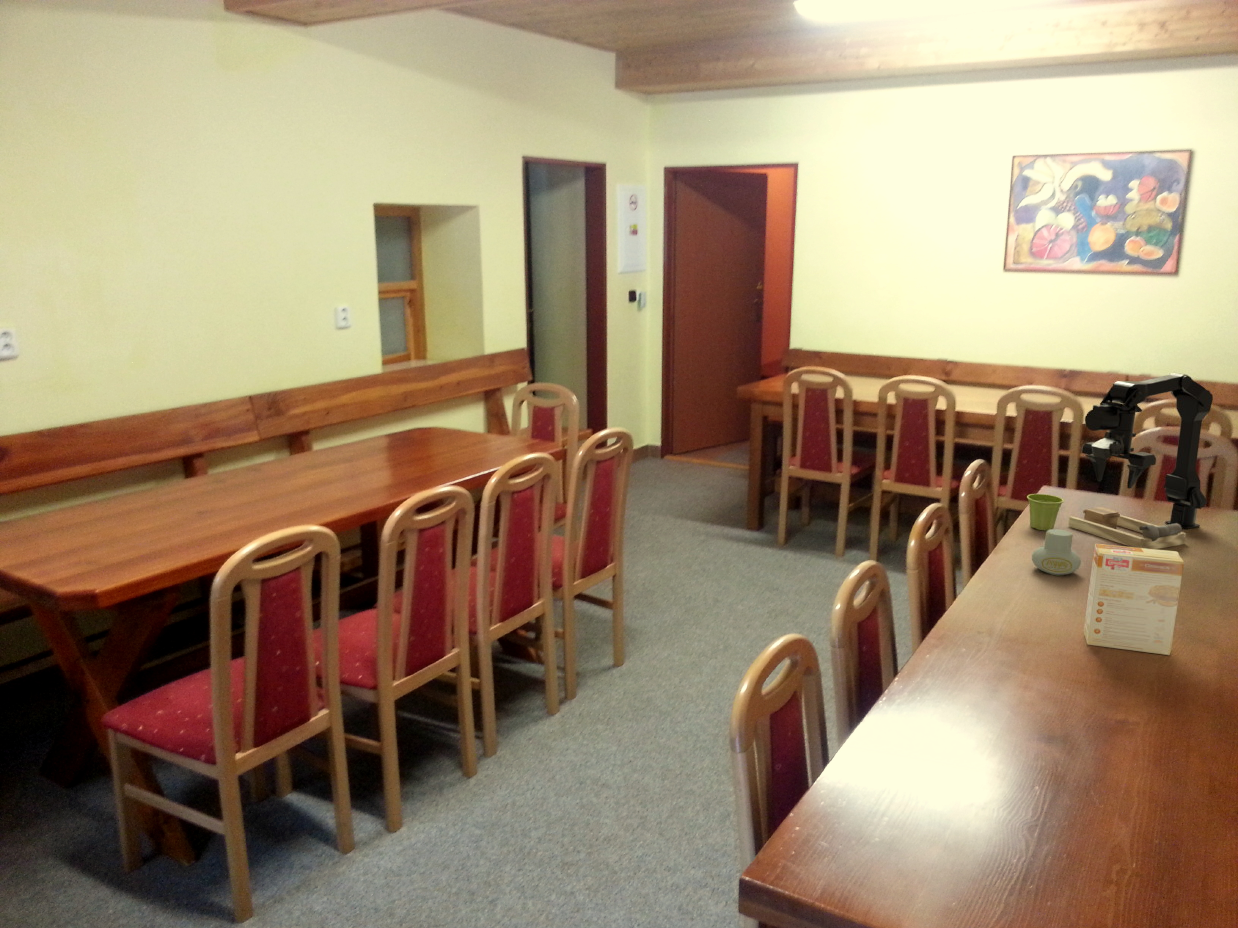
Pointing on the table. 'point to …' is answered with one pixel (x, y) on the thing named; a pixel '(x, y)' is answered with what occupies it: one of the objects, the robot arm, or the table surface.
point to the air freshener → (1056, 554)
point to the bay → (1151, 533)
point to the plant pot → (1043, 510)
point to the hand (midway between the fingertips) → (1114, 484)
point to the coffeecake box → (1133, 598)
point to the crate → (1102, 516)
